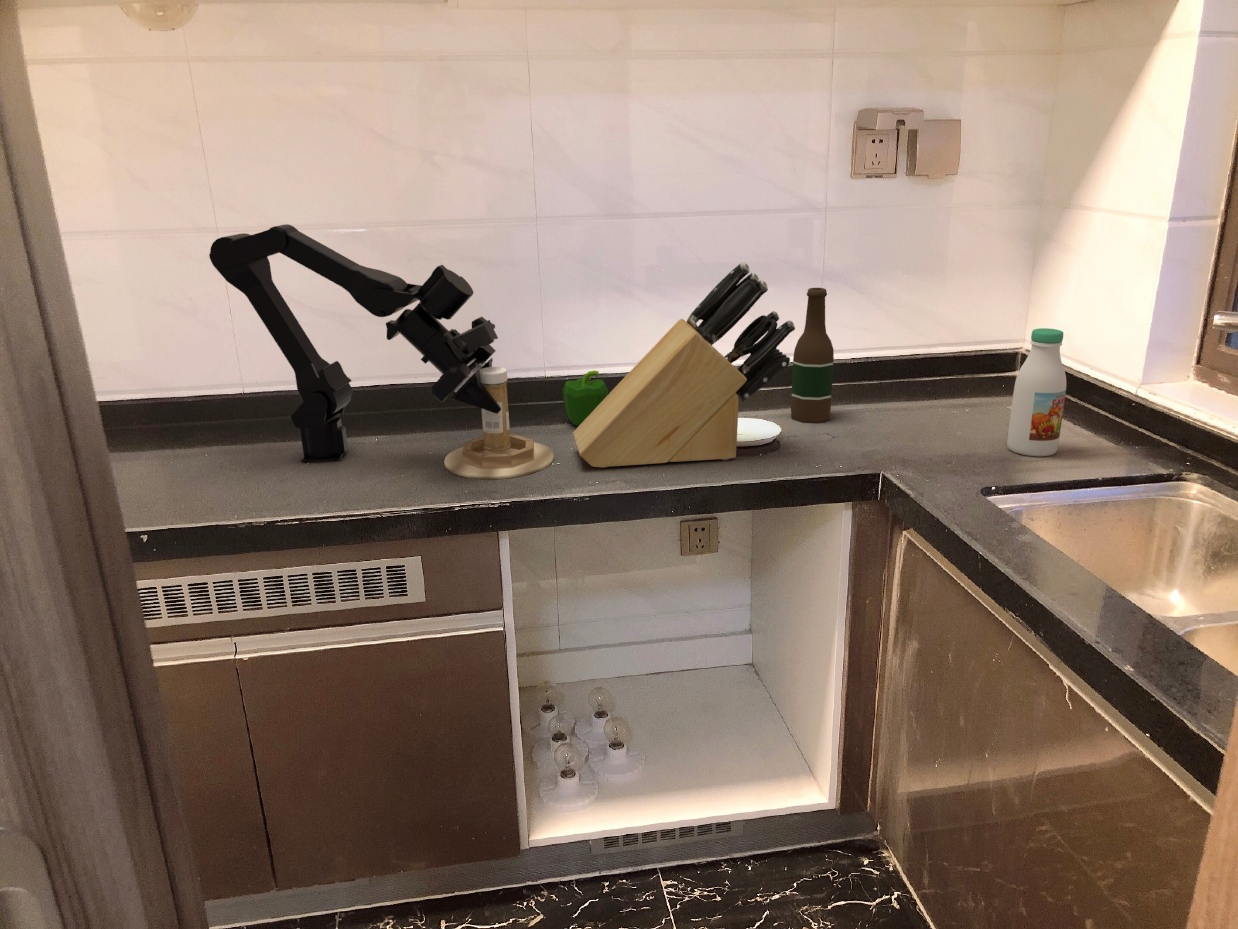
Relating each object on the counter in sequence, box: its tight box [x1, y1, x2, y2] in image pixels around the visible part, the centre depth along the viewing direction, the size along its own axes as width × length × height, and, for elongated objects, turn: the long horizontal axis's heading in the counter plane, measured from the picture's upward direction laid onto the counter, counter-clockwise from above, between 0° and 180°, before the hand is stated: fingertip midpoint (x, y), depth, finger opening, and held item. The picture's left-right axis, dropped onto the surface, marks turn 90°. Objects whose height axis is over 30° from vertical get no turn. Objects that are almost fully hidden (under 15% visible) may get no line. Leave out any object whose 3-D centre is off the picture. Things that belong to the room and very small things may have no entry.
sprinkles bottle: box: [479, 366, 511, 452], centre depth 150 cm, size 5×5×14 cm
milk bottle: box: [1006, 327, 1067, 457], centre depth 148 cm, size 8×8×20 cm
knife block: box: [572, 261, 796, 469], centre depth 148 cm, size 11×35×31 cm, turn 98°
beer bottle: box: [790, 287, 835, 424], centre depth 168 cm, size 8×8×24 cm
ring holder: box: [444, 433, 555, 480], centre depth 152 cm, size 18×18×3 cm
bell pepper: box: [561, 370, 609, 427], centre depth 169 cm, size 8×8×10 cm
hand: (502, 407), depth 149 cm, fingers closed on sprinkles bottle, 4 cm apart
